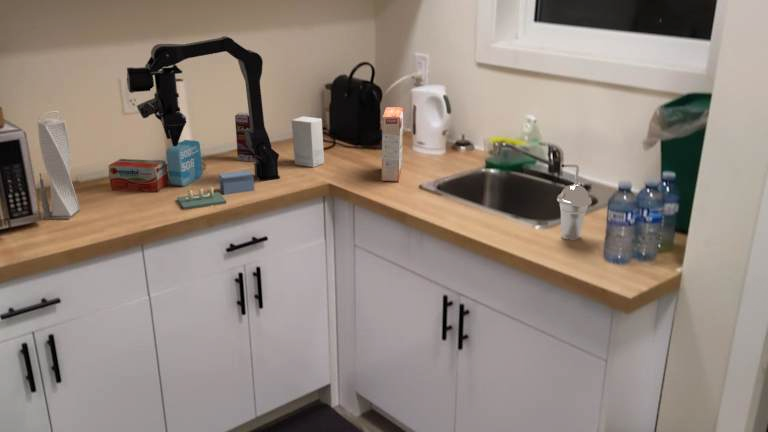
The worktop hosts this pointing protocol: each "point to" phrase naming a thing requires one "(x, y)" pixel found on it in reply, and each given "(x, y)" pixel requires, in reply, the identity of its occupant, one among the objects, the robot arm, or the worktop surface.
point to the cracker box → (392, 143)
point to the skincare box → (308, 141)
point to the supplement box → (243, 137)
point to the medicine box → (138, 175)
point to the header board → (201, 199)
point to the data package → (184, 162)
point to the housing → (236, 182)
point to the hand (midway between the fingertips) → (171, 142)
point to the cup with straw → (573, 208)
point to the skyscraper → (57, 169)
